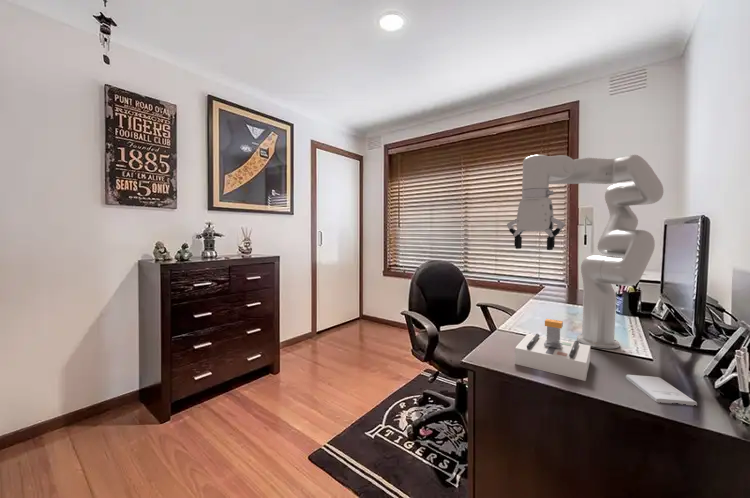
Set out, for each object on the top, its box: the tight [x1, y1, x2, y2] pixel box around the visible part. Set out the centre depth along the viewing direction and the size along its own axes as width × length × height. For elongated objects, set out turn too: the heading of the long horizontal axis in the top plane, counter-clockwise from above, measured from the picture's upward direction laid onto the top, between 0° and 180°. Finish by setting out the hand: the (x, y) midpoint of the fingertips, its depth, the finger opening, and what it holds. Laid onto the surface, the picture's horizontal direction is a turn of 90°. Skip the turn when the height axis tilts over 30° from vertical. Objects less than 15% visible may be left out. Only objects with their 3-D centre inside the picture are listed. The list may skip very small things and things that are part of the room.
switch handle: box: [544, 318, 564, 349], centre depth 96 cm, size 4×4×8 cm
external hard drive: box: [625, 374, 698, 407], centre depth 80 cm, size 2×8×12 cm
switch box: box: [514, 333, 591, 382], centre depth 97 cm, size 16×18×6 cm
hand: (533, 249), depth 101 cm, fingers open, 9 cm apart
